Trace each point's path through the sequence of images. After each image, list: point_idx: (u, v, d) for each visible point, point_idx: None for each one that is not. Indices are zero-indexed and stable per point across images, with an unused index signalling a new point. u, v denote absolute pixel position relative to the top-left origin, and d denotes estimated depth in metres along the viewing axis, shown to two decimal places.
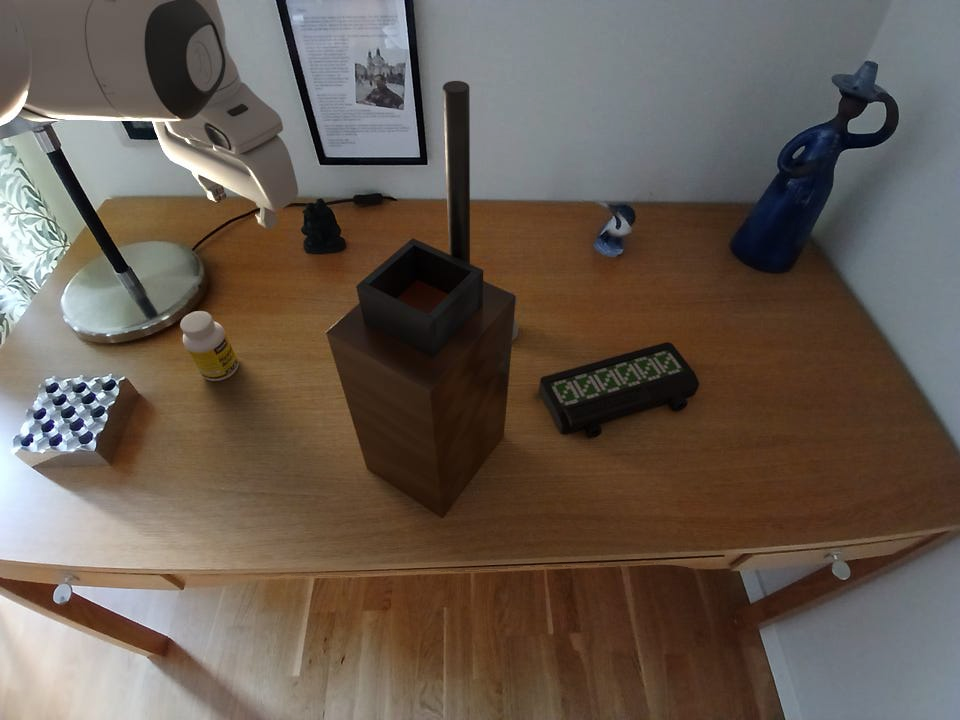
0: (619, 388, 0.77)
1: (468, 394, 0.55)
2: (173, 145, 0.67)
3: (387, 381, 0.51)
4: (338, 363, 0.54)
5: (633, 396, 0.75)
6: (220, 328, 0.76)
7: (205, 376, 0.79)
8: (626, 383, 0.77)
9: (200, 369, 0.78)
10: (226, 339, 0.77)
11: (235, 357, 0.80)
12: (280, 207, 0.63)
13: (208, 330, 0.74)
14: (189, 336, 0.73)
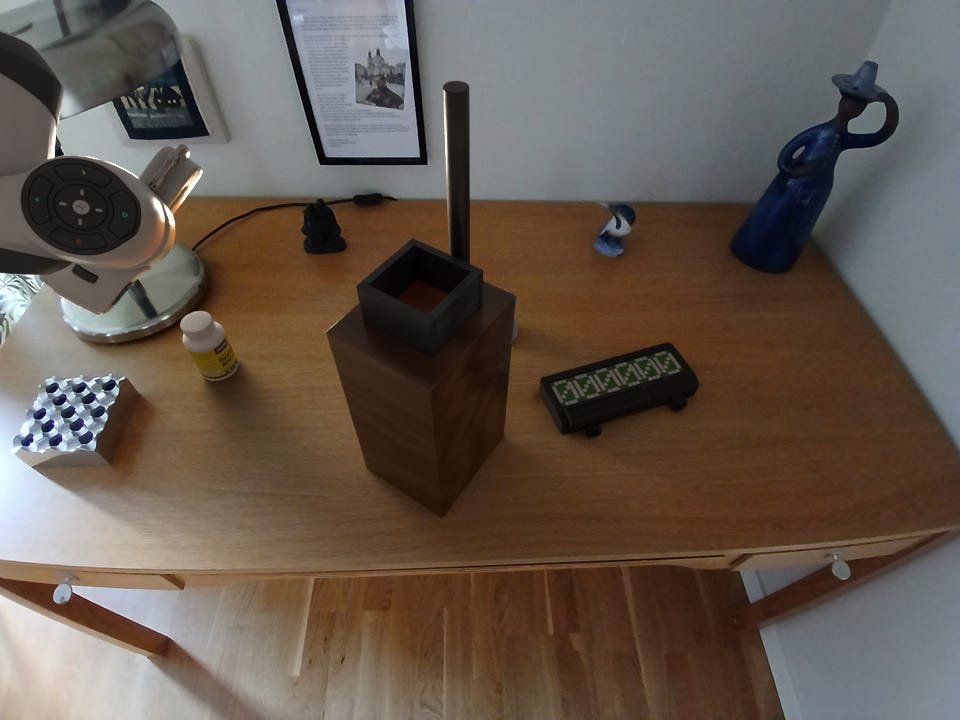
0: (619, 388, 0.77)
1: (468, 394, 0.55)
2: None
3: (387, 381, 0.51)
4: (338, 363, 0.54)
5: (633, 396, 0.75)
6: (220, 328, 0.76)
7: (205, 376, 0.79)
8: (626, 383, 0.77)
9: (200, 369, 0.78)
10: (226, 339, 0.77)
11: (235, 357, 0.80)
12: None
13: (208, 330, 0.74)
14: (189, 336, 0.73)
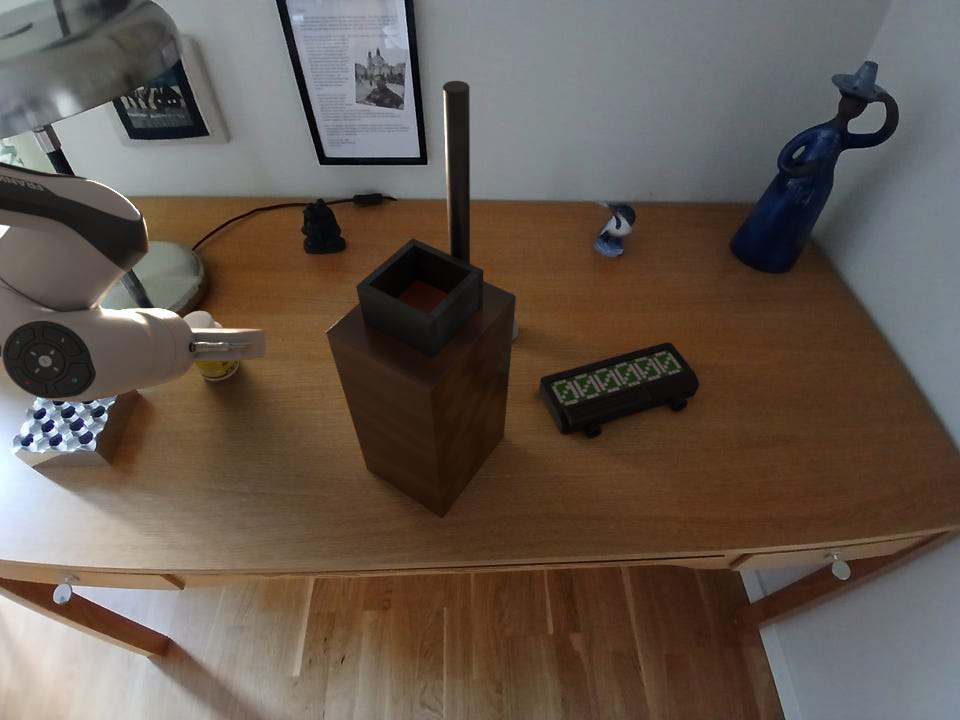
0: (619, 388, 0.77)
1: (468, 394, 0.55)
2: None
3: (387, 381, 0.51)
4: (338, 363, 0.54)
5: (633, 396, 0.75)
6: (220, 328, 0.76)
7: (205, 376, 0.79)
8: (626, 383, 0.77)
9: (200, 369, 0.78)
10: None
11: None
12: None
13: None
14: None
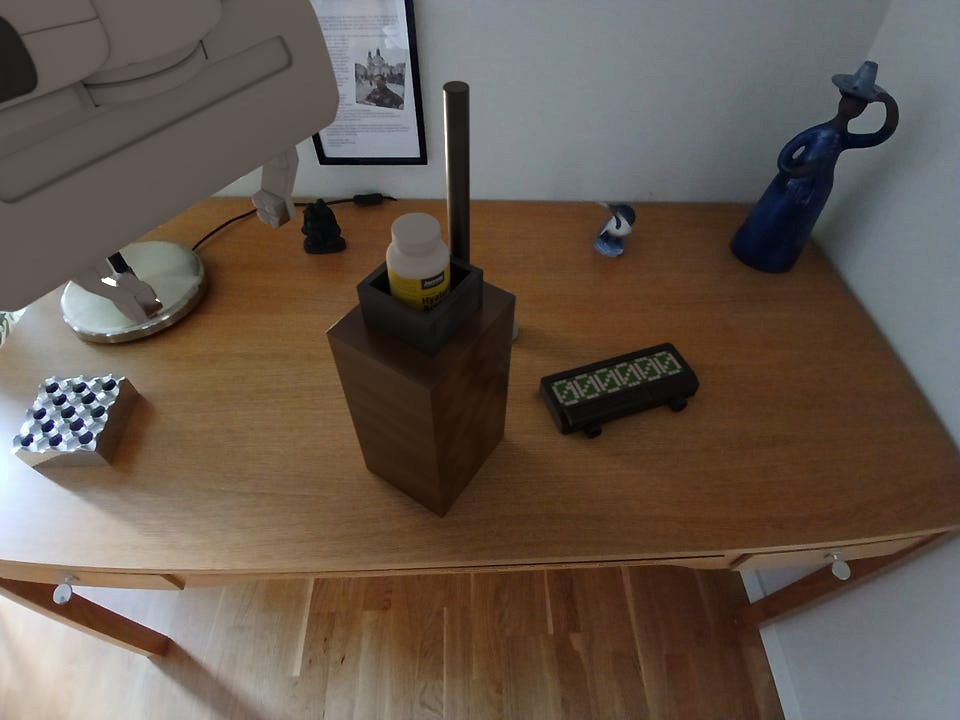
0: (619, 388, 0.77)
1: (468, 394, 0.55)
2: None
3: (387, 381, 0.51)
4: (338, 363, 0.54)
5: (633, 396, 0.75)
6: (445, 253, 0.47)
7: None
8: (626, 383, 0.77)
9: None
10: (446, 273, 0.47)
11: None
12: None
13: (426, 247, 0.44)
14: (396, 245, 0.45)
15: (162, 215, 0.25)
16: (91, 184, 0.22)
